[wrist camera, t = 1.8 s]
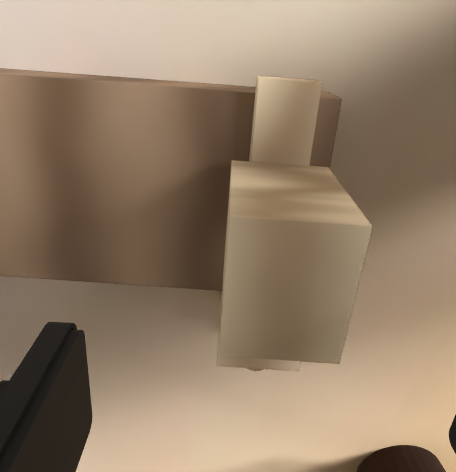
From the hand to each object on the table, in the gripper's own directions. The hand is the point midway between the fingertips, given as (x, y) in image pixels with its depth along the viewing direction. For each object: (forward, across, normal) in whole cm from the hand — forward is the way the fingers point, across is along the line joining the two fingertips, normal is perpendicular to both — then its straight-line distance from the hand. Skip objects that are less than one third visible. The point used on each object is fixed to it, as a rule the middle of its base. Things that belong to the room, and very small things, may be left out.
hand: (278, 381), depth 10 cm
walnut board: (+14, +8, 0) cm, 16 cm away
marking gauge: (+13, -1, +1) cm, 13 cm away
